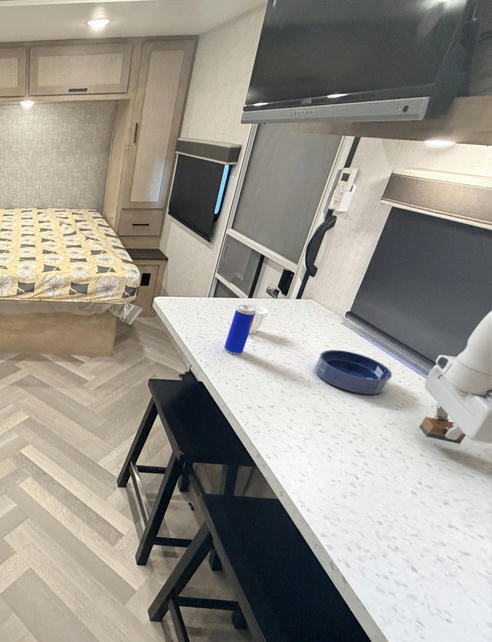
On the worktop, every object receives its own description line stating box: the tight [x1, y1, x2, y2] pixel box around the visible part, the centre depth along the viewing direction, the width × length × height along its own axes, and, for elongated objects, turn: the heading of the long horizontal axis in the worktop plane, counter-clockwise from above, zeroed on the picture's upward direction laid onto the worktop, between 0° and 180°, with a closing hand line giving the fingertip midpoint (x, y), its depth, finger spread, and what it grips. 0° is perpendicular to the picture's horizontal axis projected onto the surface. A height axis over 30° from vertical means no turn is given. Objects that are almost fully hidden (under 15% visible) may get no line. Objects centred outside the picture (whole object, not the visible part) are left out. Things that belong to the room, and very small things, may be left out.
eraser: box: [419, 416, 467, 445], centre depth 88 cm, size 6×4×3 cm, turn 66°
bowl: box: [314, 349, 393, 395], centre depth 110 cm, size 15×15×5 cm
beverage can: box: [224, 304, 256, 355], centre depth 122 cm, size 5×5×15 cm
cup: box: [248, 304, 269, 334], centre depth 134 cm, size 7×10×8 cm
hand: (443, 429), depth 88 cm, fingers closed on eraser, 3 cm apart
